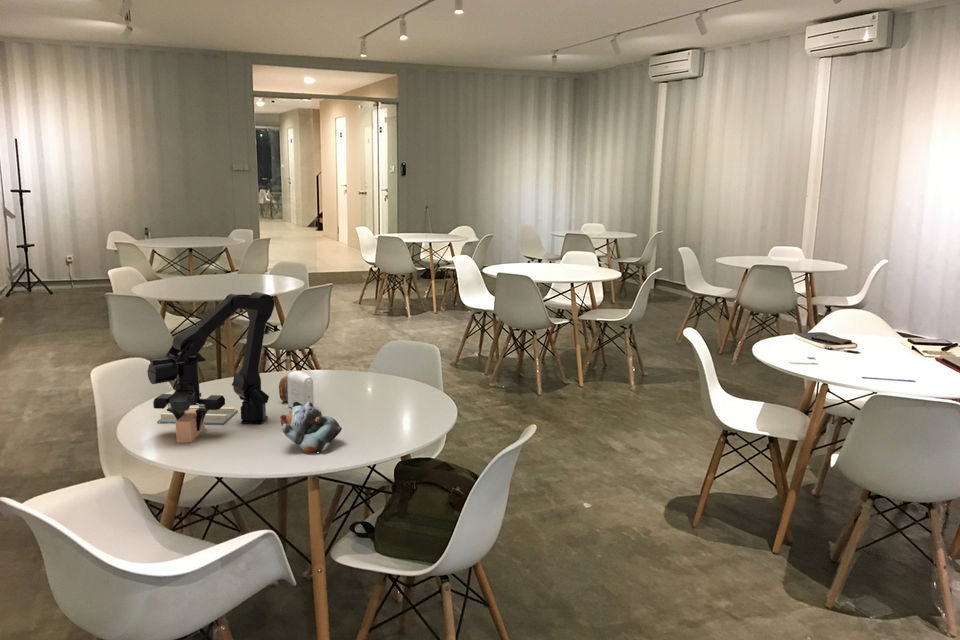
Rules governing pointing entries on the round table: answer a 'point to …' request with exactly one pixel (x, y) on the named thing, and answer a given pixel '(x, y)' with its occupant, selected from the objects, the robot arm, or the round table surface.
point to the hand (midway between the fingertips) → (190, 430)
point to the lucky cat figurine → (309, 428)
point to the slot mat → (210, 418)
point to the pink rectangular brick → (188, 426)
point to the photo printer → (299, 388)
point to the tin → (283, 388)
